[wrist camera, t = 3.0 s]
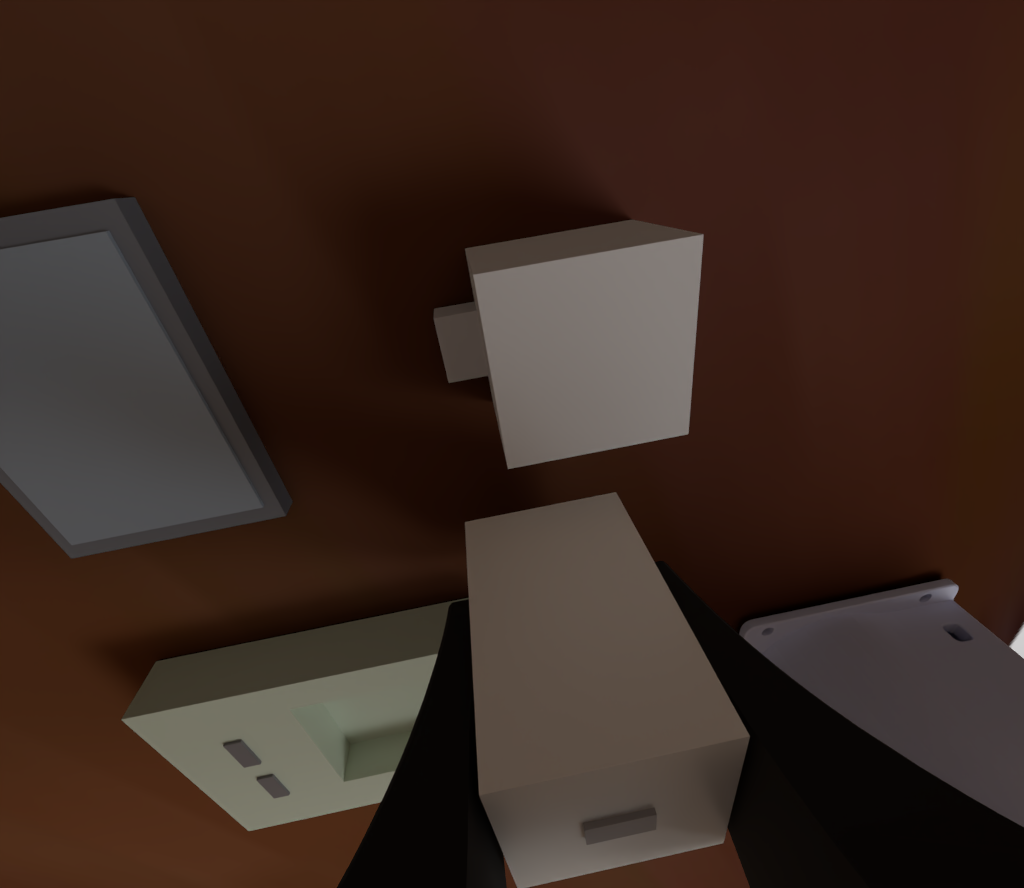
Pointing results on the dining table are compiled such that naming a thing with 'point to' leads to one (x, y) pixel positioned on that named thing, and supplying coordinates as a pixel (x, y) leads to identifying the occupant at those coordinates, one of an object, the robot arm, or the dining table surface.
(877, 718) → the robot arm
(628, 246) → the cable plug
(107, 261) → the phone
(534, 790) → the charger
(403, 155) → the dining table surface
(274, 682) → the outlet plate
